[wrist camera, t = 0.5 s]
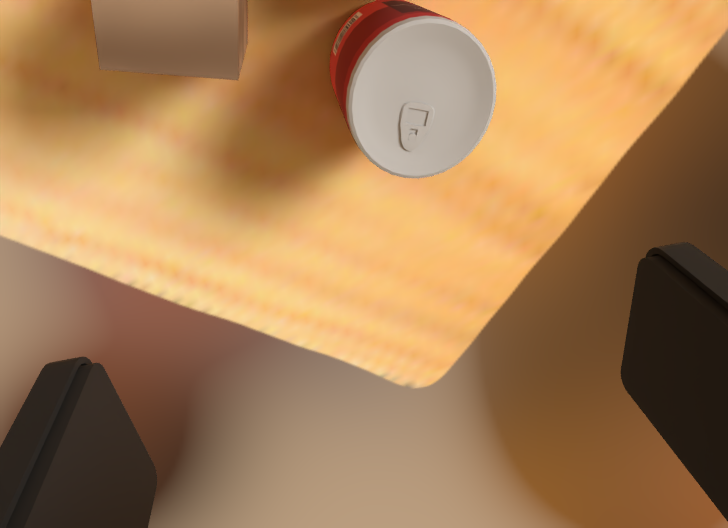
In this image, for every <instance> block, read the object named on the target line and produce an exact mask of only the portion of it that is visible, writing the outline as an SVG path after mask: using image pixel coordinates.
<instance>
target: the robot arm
mask: <svg viewBox="0 0 728 528" xmlns="http://www.w3.org/2000/svg"><path fill="white" fill-rule="evenodd" d="M621 379H622V382H623V385H624V387H625V389H626V390H627V392H628V393H629V395H630V396H631V397H632V398H633V400H634V401H635V402H636V403H637V405H638V406H639V407H640V409H641V410H642V411H643V413H644V414H645V415H646V417H647V418H648V419H649V420H650V422H651V423H652V424H653V426H654V427H655V428H656V429H657V431H658V432H659V433H660V435H661V436H662V437H663V439H664V440H665V441H666V442H667V444H668V445H669V446H670V448H671V449H672V450H673V451H674V453H675V454H676V455H677V457H678V458H679V459H680V460H681V462H682V463H683V464H684V466H685V467H686V468H687V470H688V471H689V472H690V473H691V475H692V476H693V477H694V479H695V480H696V481H697V482H698V484H699V485H700V486H701V487H702V489H703V490H704V491H705V493H706V494H707V495H708V497H709V498H710V499H711V501H712V502H713V503H714V504H715V506H716V507H717V508H718V510H719V511H720V512H721V513H722V515H723V516H724V517H725V518H726V520H727V521H728V271H727V270H726V269H725V268H723V267H722V266H721V265H719V264H718V263H716V262H715V261H714V260H712V259H711V258H710V257H708V256H707V255H706V254H704V253H703V252H702V251H700V250H699V249H697V248H696V247H695V246H693V245H691V244H690V243H688V242H681V243H676V244H670V245H665V246H660V247H655V248H652V249H650V250H649V251H648V253H647V254H646V258H643V259H641V260H640V262H639V264H638V268H637V274H636V280H635V287H634V292H633V299H632V305H631V311H630V317H629V323H628V329H627V335H626V342H625V348H624V355H623V360H622V366H621ZM156 485H157V475H156V470H155V466H154V464H153V462H152V460H151V458H150V456H149V454H148V452H147V450H146V448H145V446H144V444H143V442H142V441H141V439H140V437H139V435H138V433H137V431H136V429H135V427H134V425H133V423H132V421H131V419H130V417H129V415H128V413H127V412H126V410H125V408H124V406H123V404H122V402H121V400H120V398H119V396H118V394H117V393H116V390H115V388H114V386H113V385H112V383H111V381H110V379H109V377H108V375H107V373H106V371H105V369H104V368H103V366H102V365H101V364H99V363H93V364H92V362H91V361H90V360H89V359H88V358H86V357H79V358H73V359H67V360H62V361H57V362H52V363H49V364H46V365H45V366H44V368H43V369H42V371H41V372H40V374H39V376H38V378H37V380H36V382H35V384H34V385H33V387H32V389H31V391H30V393H29V395H28V397H27V399H26V400H25V402H24V404H23V406H22V408H21V410H20V412H19V413H18V415H17V417H16V419H15V421H14V423H13V425H12V426H11V429H10V430H9V432H8V434H7V436H6V438H5V440H4V441H3V444H2V445H1V447H0V528H148V523H149V519H150V515H151V510H152V505H153V501H154V495H155V491H156Z"/></svg>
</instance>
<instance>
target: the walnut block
mask: <svg viewBox="0 0 728 528" xmlns="http://www.w3.org/2000/svg"><path fill="white" fill-rule="evenodd" d="M91 5H92V13H93V21H94V28H95V36H96V44H97V51H98V59H99V67H100V70H112V71H125V72H138V73H151V74H164V75H177V76H190V77H203V78H216V79H229V80H238V79H239V75H240V71H241V67H242V63H243V59H244V55H245V51H246V47H247V43H248V0H91Z"/></svg>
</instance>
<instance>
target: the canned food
mask: <svg viewBox="0 0 728 528" xmlns="http://www.w3.org/2000/svg"><path fill="white" fill-rule="evenodd" d="M330 76H331V82H332V85H333V89H334V92H335V94H336V97H337V100H338V102H339V105H340V107H341V110H342V112H343V115H344V118H345V120H346V123H347V125H348V128H349V130H350V132H351V134H352V136H353V138H354V140H355V142H356V144H357V146H358V147H359V149H360V150H361V151H362V152H363V153H364V155H365V156H366V157H367V158H368V159H369V160H370V161H371V162H372V163H373V164H375V165H376V166H377V167H379V168H380V169H382V170H384V171H386V172H388V173H390V174H392V175H396V176H400V177H404V178H424V177H430V176H434V175H437V174H439V173H442V172H445V171H447V170H448V169H450V168H452V167H454V166H455V165H457V164H458V163H460V162H461V161H462V160H463V159H464V158H466V157H467V156H468V155H469V154H470V153H471V152H472V151H473V149H474V148H475V147H476V146H477V145H478V144H479V142H480V140H481V139H482V137H483V135H484V134H485V132H486V130H487V128H488V126H489V123H490V121H491V118H492V115H493V111H494V106H495V102H496V80H495V73H494V69H493V66H492V63H491V60H490V57H489V55H488V53H487V52H486V50H485V49H484V47H483V45H482V44H481V42H480V41H479V40H478V39H477V38H476V37H475V36H474V35H473V34H472V33H471V32H470V31H469V30H468V29H466V28H465V27H463V26H461V25H460V24H458V23H457V22H455V21H453V20H451V19H449V18H447V17H444V16H442V15H440V14H437V13H435V12H432V11H430V10H427V9H425V8H422V7H420V6H418V5H415V4H413V3H410V2H407V1H404V0H376V1H374V2H371V3H368V4H366V5H364V6H363V7H361V8H360V9H358V10H357V11H355V12H354V13H353V14H352V15H351V16H350V17H349V18H348V19H347V20H346V21H345V23H344V24H343V26H342V27H341V28H340V30H339V32H338V34H337V36H336V38H335V40H334V43H333V47H332V51H331V55H330Z"/></svg>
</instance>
